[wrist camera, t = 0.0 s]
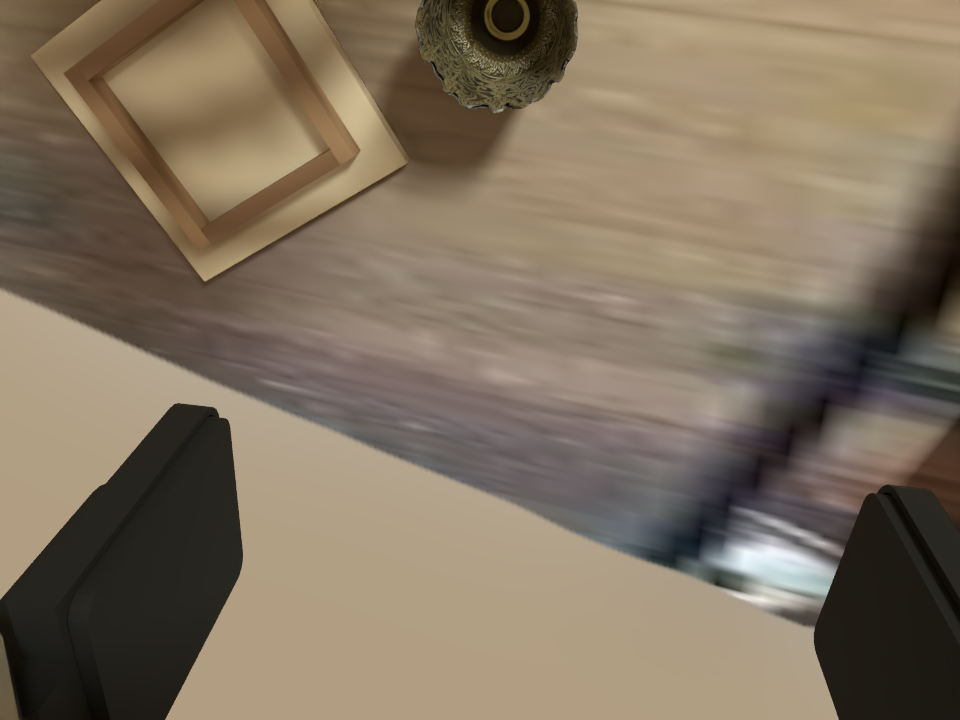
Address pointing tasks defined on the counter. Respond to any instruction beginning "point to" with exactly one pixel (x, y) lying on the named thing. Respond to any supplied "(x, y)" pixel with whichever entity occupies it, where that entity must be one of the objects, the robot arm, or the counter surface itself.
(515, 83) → the ornate lamp shade
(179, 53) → the square wooden tray
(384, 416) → the counter surface
